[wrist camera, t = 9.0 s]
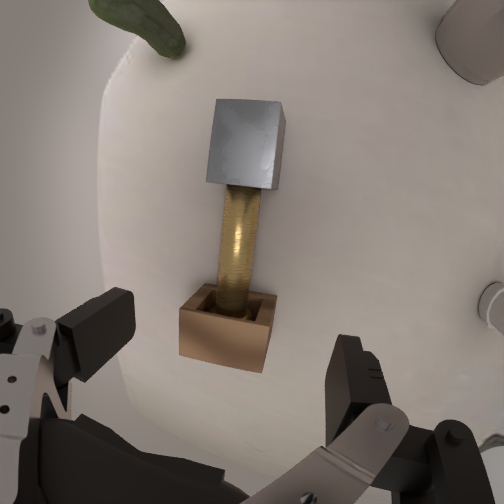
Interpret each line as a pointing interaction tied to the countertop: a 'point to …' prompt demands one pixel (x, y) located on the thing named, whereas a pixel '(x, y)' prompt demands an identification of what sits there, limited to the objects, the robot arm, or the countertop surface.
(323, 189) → the countertop surface
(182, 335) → the socket
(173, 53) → the vegetable
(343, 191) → the countertop surface
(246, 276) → the tube
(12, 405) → the robot arm
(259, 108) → the sleeve
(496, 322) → the pipe
